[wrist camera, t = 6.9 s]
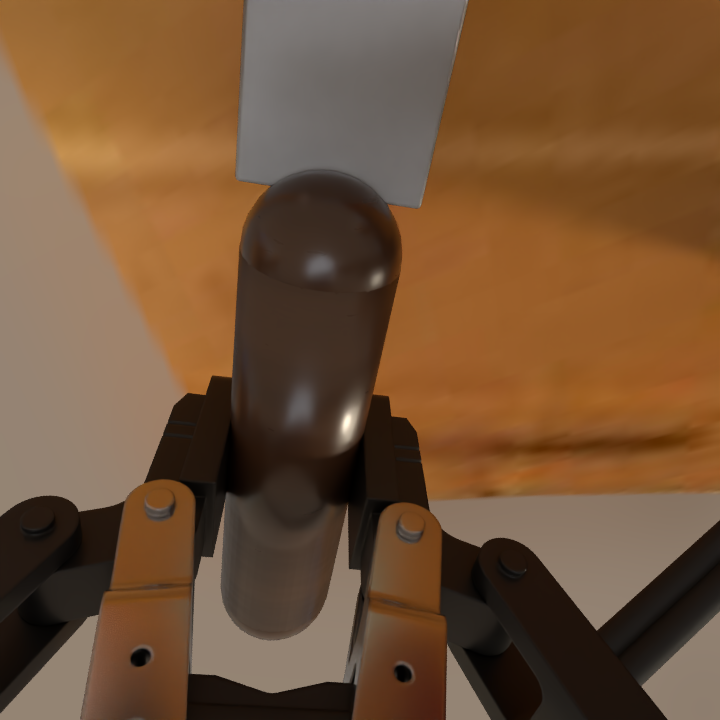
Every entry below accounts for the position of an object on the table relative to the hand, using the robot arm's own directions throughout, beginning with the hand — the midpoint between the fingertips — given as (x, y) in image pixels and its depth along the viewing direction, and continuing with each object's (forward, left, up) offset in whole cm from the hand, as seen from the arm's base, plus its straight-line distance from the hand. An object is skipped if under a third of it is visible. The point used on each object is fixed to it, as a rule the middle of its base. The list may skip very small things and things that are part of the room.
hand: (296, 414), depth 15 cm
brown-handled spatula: (0, -3, 0) cm, 3 cm away
